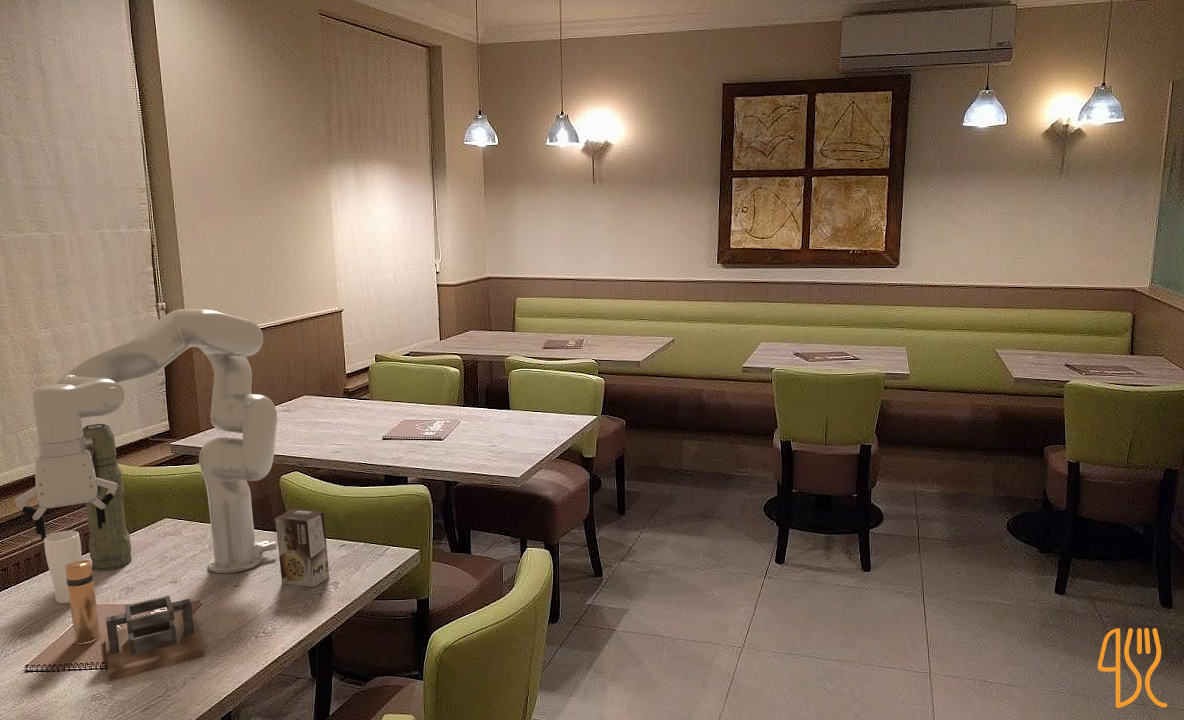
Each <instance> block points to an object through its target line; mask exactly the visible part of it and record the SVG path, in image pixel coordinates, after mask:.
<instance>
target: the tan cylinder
mask: <svg viewBox="0 0 1184 720" xmlns="http://www.w3.org/2000/svg"><path fill="white" fill-rule="evenodd" d="M65 569H66V576H67V578H66V580H67V585H68V591H69V598H70V603H69V604H70V611H71V619H72V626H73V634H74V642H75V641H76V642H77V643H84V642H89V641H92V640H94V639H97V638H98V637H99V636H100V637H101V630H100V622H99V615H98V607H97V600H96V591H95V584H94V572H93V568H92V560H88V559H82V560H80V561H75V562H72V563H69V564H67V565H66V566H65ZM76 642H75V643H76Z"/></svg>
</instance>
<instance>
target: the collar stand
mask: <svg viewBox="0 0 1184 720" xmlns="http://www.w3.org/2000/svg"><path fill="white" fill-rule="evenodd" d="M164 608H166V610H163V611H158V612H153V613H150V614H146V615H141V616H138V617H137V616H136V617H132V616H134V615H138V614H143V613H149V612H151V611H157V610H160V609H164ZM180 611H182V615H180V616H175V612H180ZM124 612H125V613H122V614H116V615H112V616H107V617H105V624H106V632H107V633H105V634H104V640H105V651H106V662H107V671H108V672H107V673H108V679H109V681H114V680H117V679H123V678H125V677H129V676H134V675H136V674H137V675H138V674H140V673H144V672H148V671H151V670H152V671H153V670H157V669H159V668H164V667H166V666H171V665H175V664H178V663H183V662H186V661H187V662H188V661H190V660H195V659H197V658H198V659H199V658H201V657H205V654H204V648H203V645H202V642H201V641H202V640H201V638H200V635H199V632H198V629H197V626H196V624H195V623H196V622H195V619H194V617H193V607H192V601H191V599H190V598H187V599H182V600H176V601H172V600H171V596H170V595H166V596H162V597H157V598H153V599H147V600H143V601H138V602H135V603H130V604H125V605H124ZM124 624H126V627H127V628H125V629H124V628H123V629H119V630H118V627H117V626H120V625H124Z"/></svg>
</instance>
